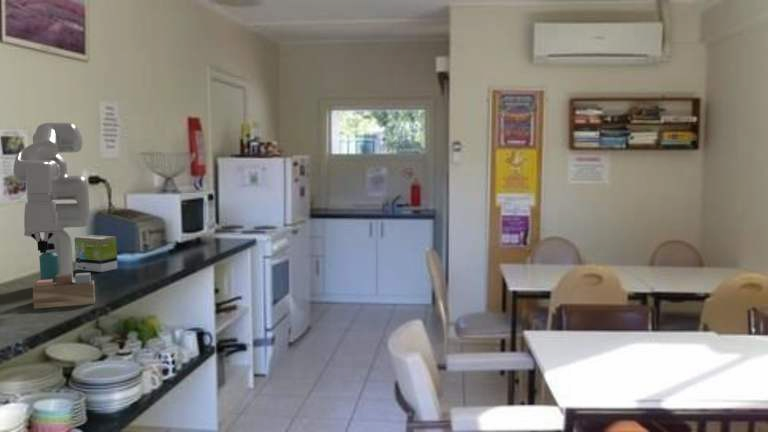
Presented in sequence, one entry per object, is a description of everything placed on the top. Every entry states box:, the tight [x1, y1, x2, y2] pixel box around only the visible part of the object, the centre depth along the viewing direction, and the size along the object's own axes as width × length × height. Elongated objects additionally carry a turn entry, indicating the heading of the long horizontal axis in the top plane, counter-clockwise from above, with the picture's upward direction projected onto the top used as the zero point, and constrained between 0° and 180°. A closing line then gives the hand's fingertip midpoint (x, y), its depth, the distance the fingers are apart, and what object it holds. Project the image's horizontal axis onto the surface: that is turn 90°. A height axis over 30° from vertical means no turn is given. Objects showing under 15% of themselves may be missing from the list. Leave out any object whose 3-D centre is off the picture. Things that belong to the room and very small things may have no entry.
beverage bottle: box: [39, 243, 60, 283], centre depth 248 cm, size 6×7×20 cm
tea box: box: [74, 234, 118, 273], centre depth 310 cm, size 15×10×15 cm
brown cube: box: [56, 274, 72, 286], centre depth 239 cm, size 5×5×5 cm
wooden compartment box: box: [32, 280, 96, 309], centre depth 240 cm, size 7×19×7 cm, turn 109°
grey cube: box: [74, 272, 92, 285], centre depth 241 cm, size 5×5×5 cm
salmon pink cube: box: [35, 279, 53, 287], centre depth 238 cm, size 5×5×5 cm
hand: (43, 252), depth 237 cm, fingers closed
